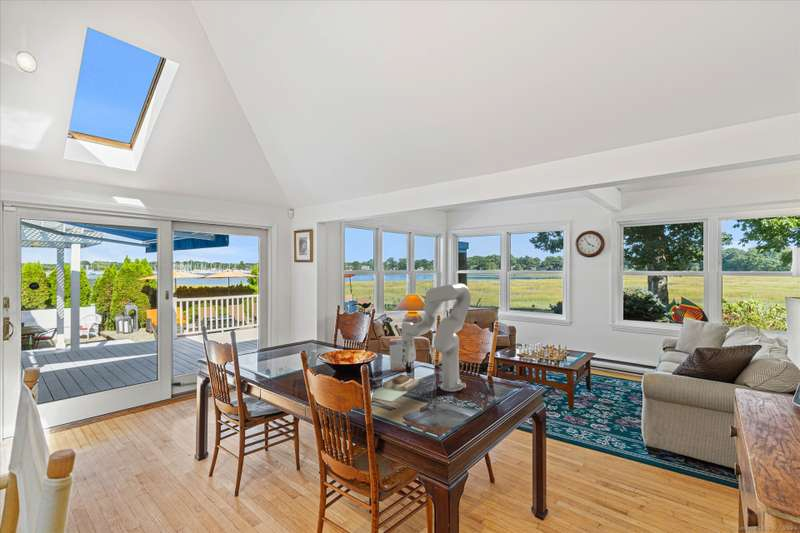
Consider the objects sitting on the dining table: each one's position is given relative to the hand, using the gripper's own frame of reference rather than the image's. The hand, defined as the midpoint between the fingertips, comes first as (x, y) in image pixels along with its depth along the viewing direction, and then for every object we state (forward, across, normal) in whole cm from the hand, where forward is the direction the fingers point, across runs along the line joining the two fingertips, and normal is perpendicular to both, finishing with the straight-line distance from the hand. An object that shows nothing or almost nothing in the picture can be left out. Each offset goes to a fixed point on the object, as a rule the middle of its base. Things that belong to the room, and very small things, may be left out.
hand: (408, 372), depth 230 cm
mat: (+5, -26, -1) cm, 26 cm away
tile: (+3, -10, -1) cm, 10 cm away
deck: (+5, -10, -1) cm, 11 cm away
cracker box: (+6, +17, +16) cm, 24 cm away
